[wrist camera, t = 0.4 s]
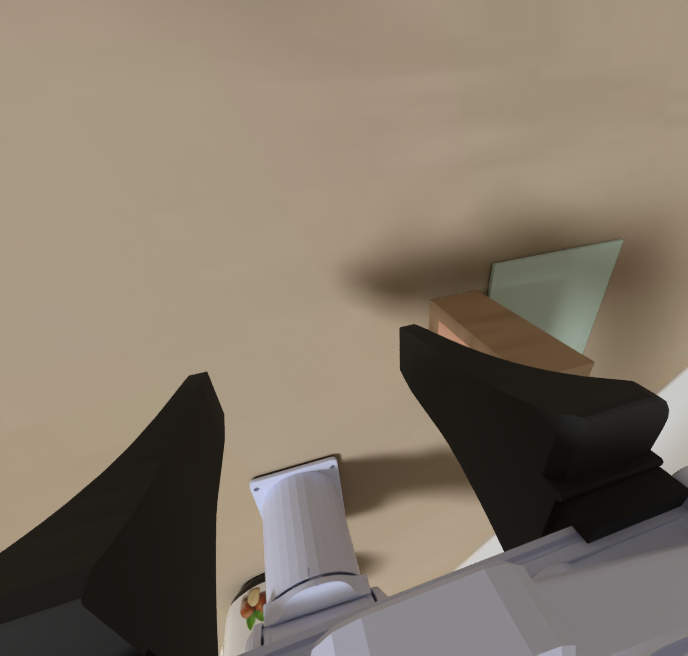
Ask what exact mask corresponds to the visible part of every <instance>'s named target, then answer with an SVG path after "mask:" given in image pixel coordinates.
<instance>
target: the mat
mask: <svg viewBox="0 0 688 656" xmlns="http://www.w3.org/2000/svg"><path fill="white" fill-rule="evenodd" d="M623 241H624V240H622V239H617V240H612V241H607V242H602V243H597V244H591V245H586V246H581V247H576V248H571V249H566V250H560V251H555V252H550V253H545V254H540V255H535V256H530V257H524V258H519V259H514V260H509V261H504V262H499V263H493V264H492V270H491V276H490V282H489V289H488V295H487V297H489V298H491V299H492V300H494V301H496V302H497V303H499V304H501V305H502V306H504V307H505V308H507V309H509V310H510V311H512V312H514V313H515V314H517V315H518V316H520V317H522V318H523V319H525V320H527V321H528V322H530V323H532V324H533V325H535V326H536V327H538V328H540V329H541V330H543V331H545V332H546V333H548V334H550V335H551V336H553V337H554V338H556V339H558V340H559V341H561V342H563V343H564V344H566V345H567V346H569V347H571V348H572V349H574V350H576V351H577V352H579V353H581V354H583V351H584V348H585V346H586V343H587V340H588V337H589V335H590V332H591V329H592V326H593V324H594V321H595V318H596V315H597V313H598V310H599V307H600V304H601V301H602V299H603V296H604V293H605V290H606V288H607V285H608V282H609V279H610V277H611V274H612V271H613V268H614V266H615V263H616V260H617V257H618V254H619V252H620V249H621V246H622V243H623Z"/></svg>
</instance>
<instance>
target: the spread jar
mask: <svg viewBox="0 0 688 656" xmlns="http://www.w3.org/2000/svg"><path fill="white" fill-rule="evenodd" d="M264 604H266V581H265V573H264V574H262V575H260V576H257V577H256V578H254V579H252V580H251V581H250V582H248V583H247V584H246V585H245V586H244V587H243V588H242V589H241V590H240V591H239V593H238V594H237V595H236V597H235V598H234V600H233V601H232V603H231V605H230V608H229V610H228V614H227V619H226V626H225V638H224V641H223V646H222V650H221V655H220V656H237V655H240V654H242V653H245V649H246V642H247V639H248V637H249V636H250V634H251V632H252V631H253V627H254V626H255V625H256V624H259V623H263V624H264V611H263V606H264Z"/></svg>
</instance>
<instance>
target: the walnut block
mask: <svg viewBox="0 0 688 656" xmlns="http://www.w3.org/2000/svg"><path fill="white" fill-rule="evenodd" d="M429 330H430V331H432V332H434V333H437V334H439V335H441V336H443V337H445V338H448V339H450V340H452V341H455V342H457V343H459V344H462V345H464V346H467V347H469V348H472V349H475V350H477V351H480V352H483V353H485V354H488V355H491V356H494V357H497V358H501V359H504V360H508V361H511V362H514V363H518V364H522V365H526V366H531V367H535V368H540V369H544V370H549V371H555V372H560V373H566V374H573V375H579V376H586V377H589V375H590V372H591V370H592V367H593V365H594V361H592V360H590V359H589V358H587V357H585V356H584V355H582V354H581V353H579V352H577V351H576V350H574V349H572V348H571V347H569V346H567V345H566V344H564V343H563V342H561V341H559V340H558V339H556V338H554V337H553V336H551V335H550V334H548V333H546V332H545V331H543V330H541V329H540V328H538V327H536V326H535V325H533V324H532V323H530V322H528V321H527V320H525V319H523V318H522V317H520V316H518V315H517V314H515V313H514V312H512V311H510V310H509V309H507V308H505V307H504V306H502V305H501V304H499V303H497V302H496V301H494V300H492V299H491V298H489V297H487V296H486V295H484V294H483V293H481V292H479V291H478V290H475V291H470V292H466V293H461V294H456V295H451V296H446V297H442V298H437V299H432V300H430V317H429Z"/></svg>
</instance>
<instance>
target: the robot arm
mask: <svg viewBox="0 0 688 656" xmlns="http://www.w3.org/2000/svg"><path fill="white" fill-rule="evenodd" d="M400 371H401V373H402V375H403V377H404V379H405V381H406V382H407V384H408V386H409V388H410V390H411V391H412V393H413V394H414V396H415V397H416V398H417V400H418V401H419V403H420V404H421V406H422V407H423V408H424V410H425V411H426V413H427V414H428V415H429V417H430V418H431V419H432V421H433V422H434V424H435V425H436V426H437V428H438V429H439V431H440V432H441V433H442V435H443V436H444V438H445V439H446V441H447V443H448V444H449V446H450V448H451V449H452V451H453V453H454V455H455V456H456V458H457V460H458V462H459V463H460V465H461V467H462V469H463V471H464V473H465V474H466V476H467V478H468V480H469V482H470V484H471V486H472V487H473V489H474V491H475V493H476V495H477V497H478V499H479V501H480V503H481V505H482V507H483V509H484V511H485V513H486V515H487V517H488V519H489V521H490V523H491V525H492V527H493V529H494V531H495V534H496V536H497V538H498V540H499V542H500V544H501V546H502V548H503V550H504V552H503V553H501V554H498V555H495V556H493V557H490V558H488V559H485V560H482V561H480V562H477V563H475V564H472V565H469V566H467V567H464V568H462V569H459V570H457V571H454V572H451V573H449V574H446V575H444V576H441V577H438V578H436V579H433V580H431V581H428V582H426V583H423V584H420V585H418V586H415V587H413V588H410V589H408V590H405V591H402V592H400V593H397V594H395V595H392V596H389V597H388V596H387V595H386V594H385V593H384V592H382V590H381V589H380V588H379V587H372V588H370V586H369V582H368V579H367V575H366V574H361V573H360V570H359V566H358V562H357V559H356V555H355V551H354V547H353V544H352V540H351V536H350V533H349V529H348V525H347V521H346V518H345V508H344V502H343V496H342V489H341V483H340V476H339V470H338V463H337V459H336V458H335V457H329V458H325V459H322V460H318V461H315V462H311V463H308V464H304V465H301V466H297V467H294V468H291V469H287V470H284V471H280V472H277V473H273V474H270V475H266V476H263V477H259V478H256V479H253V480H251V481H250V489H251V492H252V494H253V497H254V499H255V502H256V504H257V507H258V509H259V512H260V514H261V517H262V519H263V536H264V558H265V581H266V604H264V606H263V611H264V624H263V623H259V624H256V625H255V626H254V627H253V631H252V632H251V634H250V636H249V637H248V639H247V642H246V649H245V653H242V654H240V655H237V656H688V466H686V467H684V468H682V469H680V470H678V471H677V472H676V473H674V474H673V475H672V476H671V475H670V474H669V473H667V472H666V471H665V470H663V469H662V468H661V467H659V466H661V465H662V464H663V460H662V458H661V457H659V456H658V455H656V454H655V453H654V452H652V451H651V448H652V446H653V445H654V443H655V441H656V439H657V438H658V436H659V434H660V432H661V431H662V429H663V427H664V425H665V423H666V421H667V419H668V414H669V408H668V405H667V402H666V401H665V400H663V399H662V398H660V397H659V396H657V395H656V394H654V393H652V392H651V391H649V390H647V389H646V388H644V387H642V386H641V385H639V384H637V383H636V382H633V381H626V380H616V379H605V378H595V377H586V376H579V375H573V374H566V373H560V372H555V371H549V370H544V369H540V368H535V367H531V366H526V365H522V364H518V363H514V362H511V361H508V360H504V359H501V358H497V357H494V356H491V355H488V354H485V353H483V352H480V351H477V350H475V349H472V348H469V347H467V346H464V345H462V344H459V343H457V342H455V341H452V340H450V339H448V338H445V337H443V336H441V335H439V334H437V333H434V332H432V331H430V330H427V329H425V328H423V327H420V326H418V325H415V324H413V325H408V326H404V327H400ZM224 442H225V425H224V413H223V410H222V407H221V405H220V402H219V400H218V397H217V395H216V392H215V390H214V387H213V385H212V382H211V380H210V377H209V375H208V372H203V373H199V374H194V375H190V376H188V377H187V379H186V380H185V381H184V382H183V383H182V385H181V386H180V387H179V389H178V390H177V391H176V392H175V394H174V395H173V396H172V397H171V399H170V400H169V401H168V402H167V404H166V405H165V406H164V407H163V409H162V410H161V411H160V412H159V414H158V415H157V416H156V417H155V418H154V420H153V421H152V422H151V423H150V424H149V425H148V426H147V427H146V429H145V430H144V431H143V432H142V433H141V434H140V435H139V436H138V438H137V439H136V440H135V441H134V442H133V443H132V444H131V445H130V446H129V447H128V448H127V449H126V450H125V451H124V452H123V453H122V454H121V455H120V456H119V457H118V458H117V459H116V460H115V461H114V462H113V463H112V464H111V465H110V466H109V467H108V468H107V469H106V470H105V471H104V472H102V473H101V474H100V475H99V476H98V477H97V478H96V479H94V480H93V481H92V482H91V483H90V484H89V485H87V486H86V487H85V488H84V489H83V490H82V491H80V492H79V493H78V494H77V495H76V496H75V497H73V498H72V499H71V500H70V501H69V502H68V503H66V504H65V505H64V506H63V507H61V508H60V509H59V510H57V511H56V512H55V513H54V514H52V515H51V516H50V517H48V518H47V519H46V520H45V521H43V522H42V523H41V524H39V525H38V526H37V527H35V528H34V529H33V530H31V531H30V532H29V533H27V534H26V535H25V536H23V537H22V538H20V539H19V540H18V541H16V542H15V543H14V544H12V545H11V546H9V547H8V548H7V549H5V550H4V551H2V552H1V553H0V656H218V638H217V608H216V513H217V500H218V492H219V484H220V476H221V468H222V459H223V451H224Z"/></svg>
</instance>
